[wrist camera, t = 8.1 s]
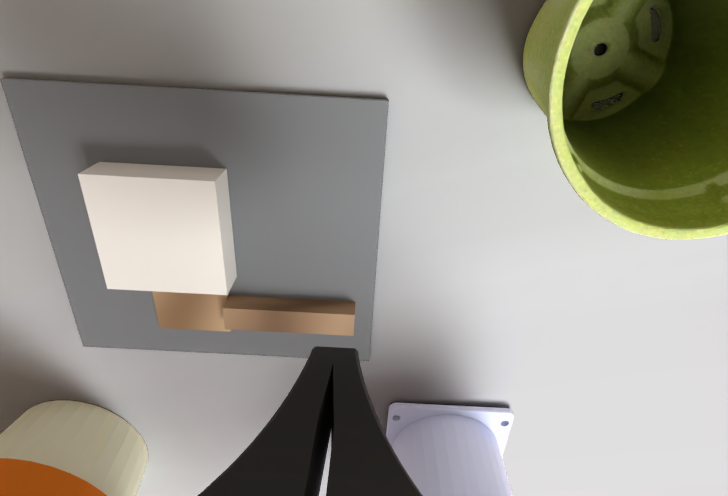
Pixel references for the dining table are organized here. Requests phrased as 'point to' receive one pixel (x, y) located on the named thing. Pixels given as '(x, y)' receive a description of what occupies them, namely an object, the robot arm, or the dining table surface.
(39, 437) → the reusable coffee cup
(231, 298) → the wooden plank
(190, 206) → the tile
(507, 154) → the dining table surface
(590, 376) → the dining table surface
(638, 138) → the plant pot
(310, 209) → the mat
